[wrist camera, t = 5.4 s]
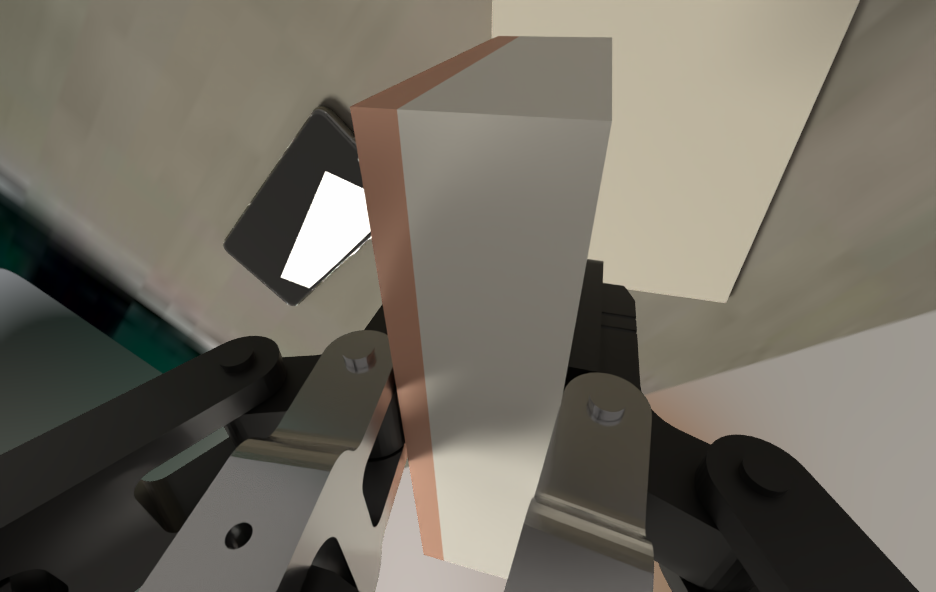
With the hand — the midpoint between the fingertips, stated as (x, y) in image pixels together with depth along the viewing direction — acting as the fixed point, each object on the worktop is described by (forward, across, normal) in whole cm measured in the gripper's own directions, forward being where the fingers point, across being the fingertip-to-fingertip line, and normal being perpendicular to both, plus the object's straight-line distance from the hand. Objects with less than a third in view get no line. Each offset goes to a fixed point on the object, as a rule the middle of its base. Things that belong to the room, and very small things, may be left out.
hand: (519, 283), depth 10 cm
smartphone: (+15, +17, +8) cm, 24 cm away
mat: (+14, -3, 0) cm, 15 cm away
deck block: (+2, 0, 0) cm, 2 cm away
